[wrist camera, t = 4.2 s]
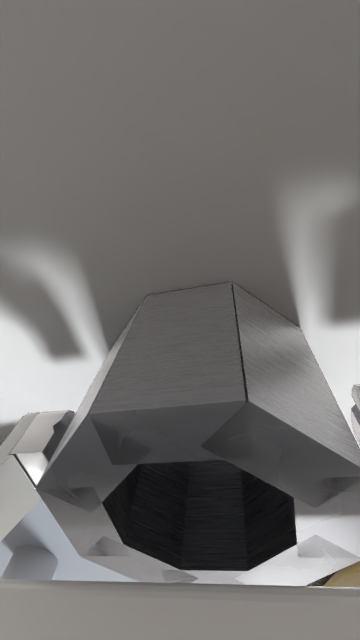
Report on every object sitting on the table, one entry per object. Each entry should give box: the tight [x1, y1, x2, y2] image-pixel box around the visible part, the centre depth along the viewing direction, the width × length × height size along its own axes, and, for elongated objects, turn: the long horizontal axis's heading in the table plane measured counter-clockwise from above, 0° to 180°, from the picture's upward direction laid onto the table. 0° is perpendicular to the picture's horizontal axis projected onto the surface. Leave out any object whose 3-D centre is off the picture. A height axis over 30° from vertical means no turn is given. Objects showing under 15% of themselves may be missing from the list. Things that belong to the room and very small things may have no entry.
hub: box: [35, 282, 360, 586], centre depth 9 cm, size 6×6×5 cm
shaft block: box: [0, 498, 138, 582], centre depth 14 cm, size 14×12×6 cm
